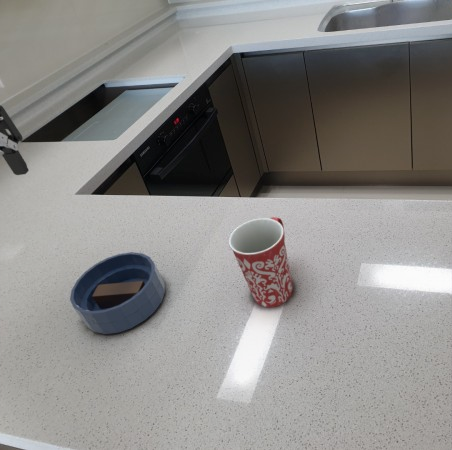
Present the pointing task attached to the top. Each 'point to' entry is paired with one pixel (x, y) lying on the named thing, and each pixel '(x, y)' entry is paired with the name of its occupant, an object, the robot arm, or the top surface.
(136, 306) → the bowl
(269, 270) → the mug
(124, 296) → the bar
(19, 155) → the robot arm
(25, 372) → the top surface
